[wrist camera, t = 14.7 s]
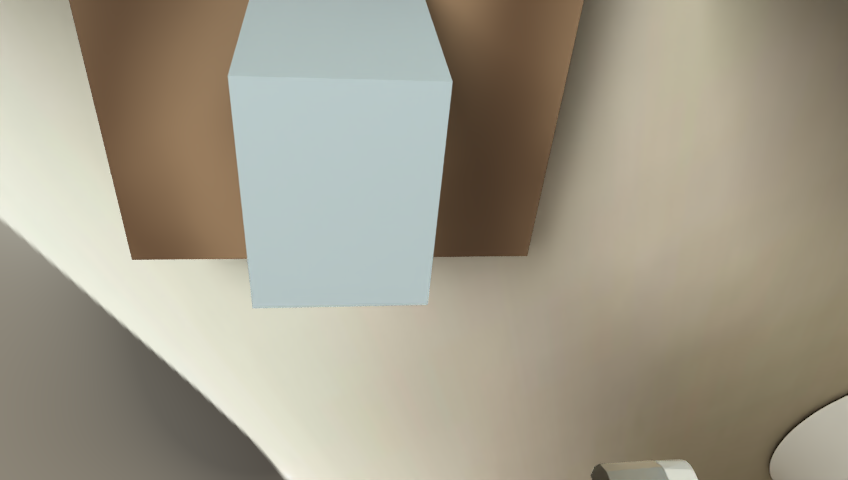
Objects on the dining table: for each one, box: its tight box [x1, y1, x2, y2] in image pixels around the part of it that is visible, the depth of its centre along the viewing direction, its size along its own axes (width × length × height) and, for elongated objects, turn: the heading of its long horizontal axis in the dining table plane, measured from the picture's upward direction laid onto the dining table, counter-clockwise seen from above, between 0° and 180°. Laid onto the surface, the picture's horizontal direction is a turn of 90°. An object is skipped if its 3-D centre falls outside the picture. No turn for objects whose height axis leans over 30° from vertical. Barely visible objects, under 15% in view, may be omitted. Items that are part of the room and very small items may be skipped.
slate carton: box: [228, 0, 453, 308], centre depth 20 cm, size 5×7×8 cm
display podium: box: [69, 0, 584, 260], centre depth 25 cm, size 17×17×5 cm
